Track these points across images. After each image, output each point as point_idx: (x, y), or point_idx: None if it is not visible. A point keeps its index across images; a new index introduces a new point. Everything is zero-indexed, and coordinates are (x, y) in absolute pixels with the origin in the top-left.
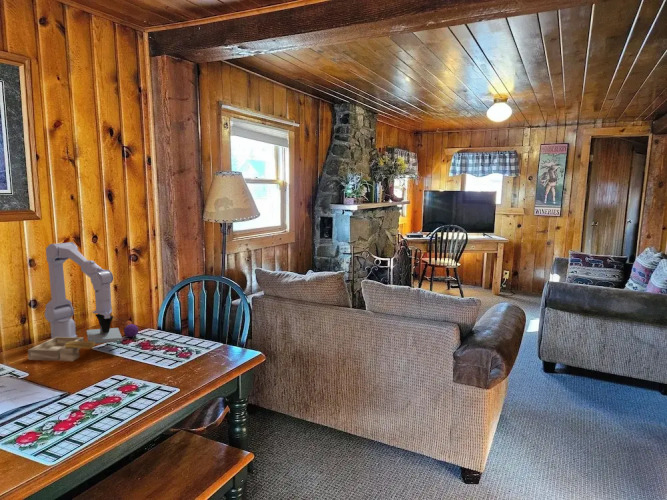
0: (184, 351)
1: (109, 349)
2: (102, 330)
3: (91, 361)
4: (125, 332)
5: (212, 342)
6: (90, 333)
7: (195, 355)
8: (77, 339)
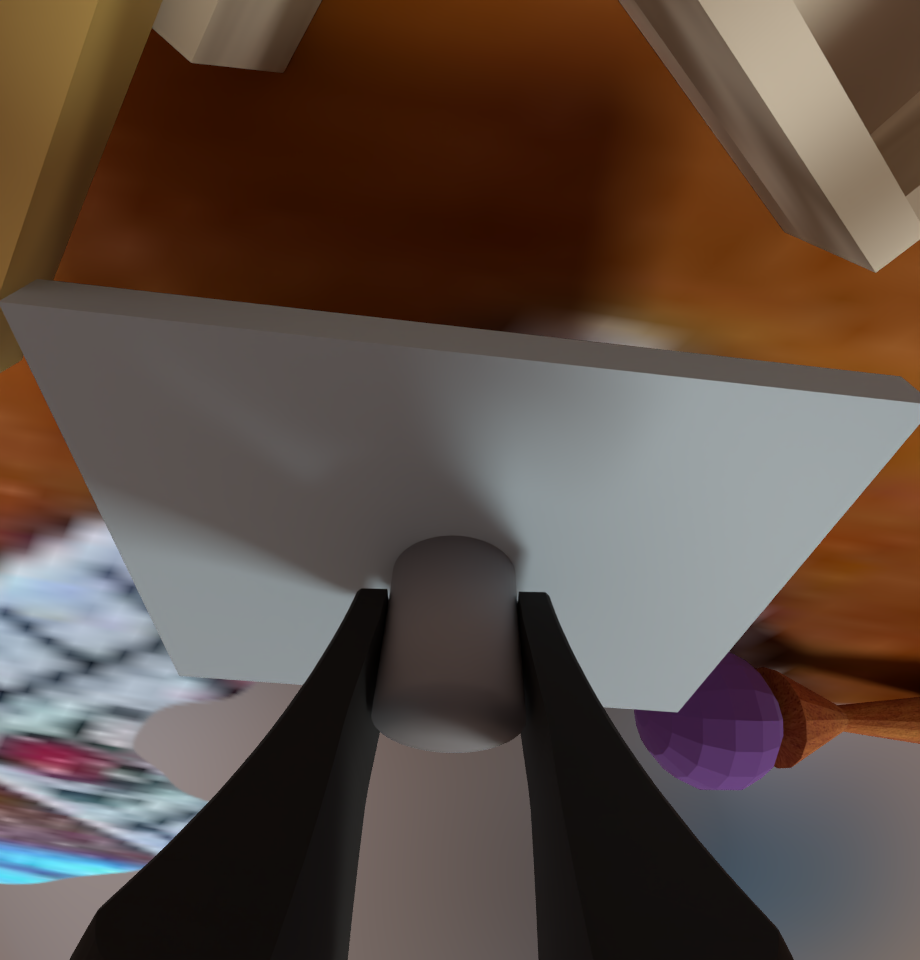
0: (116, 769)
1: None
2: (344, 623)
3: None
4: None
5: None
6: (582, 420)
7: (23, 781)
8: (854, 136)
